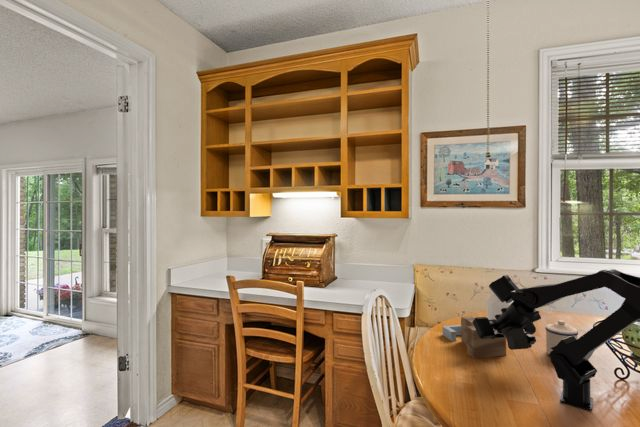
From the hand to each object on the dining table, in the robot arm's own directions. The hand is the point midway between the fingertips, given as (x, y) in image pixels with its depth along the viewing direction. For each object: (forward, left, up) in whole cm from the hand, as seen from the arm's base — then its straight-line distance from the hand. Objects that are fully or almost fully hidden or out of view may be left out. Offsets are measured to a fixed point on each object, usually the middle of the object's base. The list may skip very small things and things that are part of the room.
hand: (492, 337), depth 113 cm
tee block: (+6, +6, -7) cm, 11 cm away
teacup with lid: (+19, -17, -7) cm, 27 cm away
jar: (+37, +6, -7) cm, 38 cm away
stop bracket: (+13, +15, -7) cm, 21 cm away
